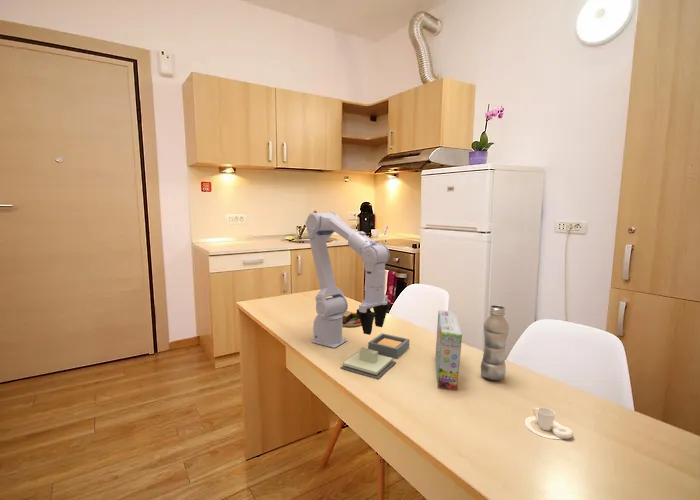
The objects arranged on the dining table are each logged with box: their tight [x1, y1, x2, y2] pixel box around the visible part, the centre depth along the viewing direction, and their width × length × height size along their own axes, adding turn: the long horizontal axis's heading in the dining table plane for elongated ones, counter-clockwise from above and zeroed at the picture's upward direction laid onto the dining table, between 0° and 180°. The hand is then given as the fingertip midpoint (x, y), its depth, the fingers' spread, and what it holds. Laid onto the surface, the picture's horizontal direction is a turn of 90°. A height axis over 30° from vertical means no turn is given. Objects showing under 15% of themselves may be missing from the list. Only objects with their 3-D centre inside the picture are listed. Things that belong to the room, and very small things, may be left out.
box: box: [367, 333, 410, 360], centre depth 116 cm, size 10×10×3 cm
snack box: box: [435, 309, 463, 391], centre depth 101 cm, size 21×6×15 cm, turn 168°
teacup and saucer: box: [524, 407, 574, 440], centre depth 76 cm, size 9×8×4 cm
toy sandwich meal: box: [342, 310, 362, 328], centre depth 143 cm, size 12×14×5 cm
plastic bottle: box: [480, 304, 510, 382], centre depth 97 cm, size 6×7×20 cm
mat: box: [340, 360, 397, 380], centre depth 104 cm, size 12×12×1 cm
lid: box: [342, 347, 394, 375], centre depth 104 cm, size 11×11×4 cm
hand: (373, 330), depth 107 cm, fingers open, 7 cm apart
